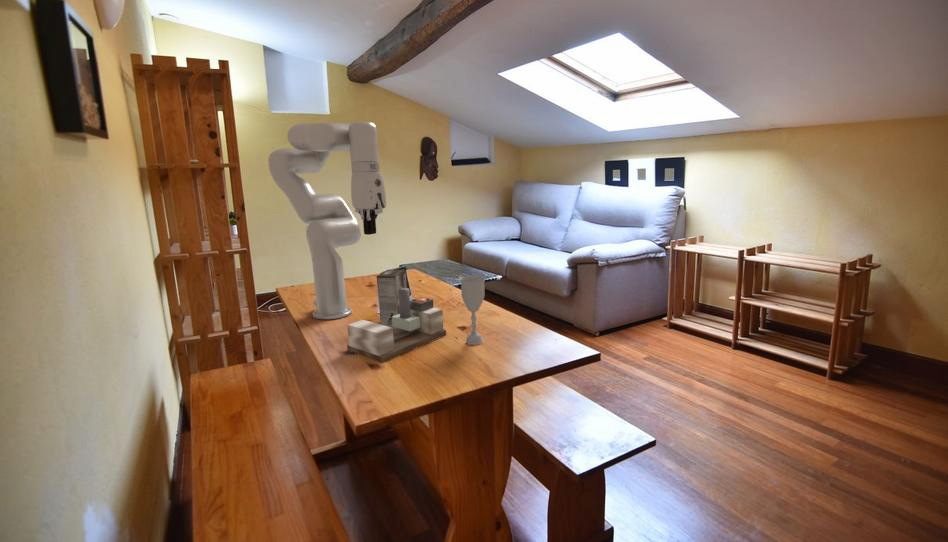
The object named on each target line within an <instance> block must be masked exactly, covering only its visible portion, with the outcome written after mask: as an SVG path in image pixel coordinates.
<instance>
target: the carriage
mask: <svg viewBox="0 0 948 542" xmlns="http://www.w3.org/2000/svg"><path fill="white" fill-rule="evenodd" d="M398 292H399V308H400V314H398V315H395V316H392V327H391V328H399V329H403V330H406V331H412V330H415V329H417V328H420V318H419V317H417V316H413V315H411V310H410V300H411V297H410V288H408V287H407V288H400V289H398Z"/></svg>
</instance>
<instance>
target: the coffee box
mask: <svg viewBox="0 0 948 542" xmlns="http://www.w3.org/2000/svg"><path fill="white" fill-rule="evenodd" d="M376 282H377V283H376V284H377V285H376V287H377V297H378V308H379V309H378V310H379V324H380V325H384V326H388V327H391V328H393V327H392V316H395V315H398V314H400V308H399V292H398V289H400V288H408V282H407V269H386V270H385V271H383V272H381V273H380V274H378V275H377V276H376Z"/></svg>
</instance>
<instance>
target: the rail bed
mask: <svg viewBox="0 0 948 542" xmlns="http://www.w3.org/2000/svg"><path fill="white" fill-rule="evenodd" d="M417 298H424V296H423V297H422V296H419V297H415V298H414V299H410V310H411V315H413V316H417V317H419V318H420V328H417V329H415V330H412V331H406V330H403V329H399V328H395V327H388V326H384V325H380V323H378V322H377V323H376V322H372V321H369V320H365V319H360V320H356V321H353V322H351V323H348V324H347V334H348V344H347V345H346V346H347V347H346V348H347V351H348V352H350V351H351V353H353V352H355V353H354V354H356V353H357V354H356V355H359V354H360V355H359V356H362V355H363V356H362V357H365V356H366V357H365V358H368V359H371V360H373V359H375V360H374V361H376V360H377V362H379V361H380V363H384V361H385V362H387V361H389V360H391V358H392V359H394V358H396V357H398V355H399V356H401V355H403V354H405V352H406V353H408V352H410V351H412V349H413V350H415V349H416V347H417V348H419V346H420V347H422V346H424V345H426V343H427V344H428V342H429V343H431V342H433V341H436V340H438V339H439V337H440V338H442V336H443V337H445V336H446V335H447V330H446V329H445V328H444V316H443V315H444V314H443V309H442V308H438V307H434V299H431V298H427V297H425V298H426V301H425V302H422V303H419V302H415V299H417ZM444 335H445V336H444ZM437 338H438V339H437ZM435 339H436V340H435ZM432 340H433V341H432ZM430 341H431V342H430ZM423 344H424V345H423ZM421 345H422V346H421ZM414 348H415V349H414Z"/></svg>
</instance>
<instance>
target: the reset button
mask: <svg viewBox="0 0 948 542" xmlns="http://www.w3.org/2000/svg"><path fill="white" fill-rule="evenodd" d="M416 298H417V299H416ZM416 298H414V299H415V302H419V303H422V302H425V301H426V298H427V297H423V298H419V297H416Z"/></svg>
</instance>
